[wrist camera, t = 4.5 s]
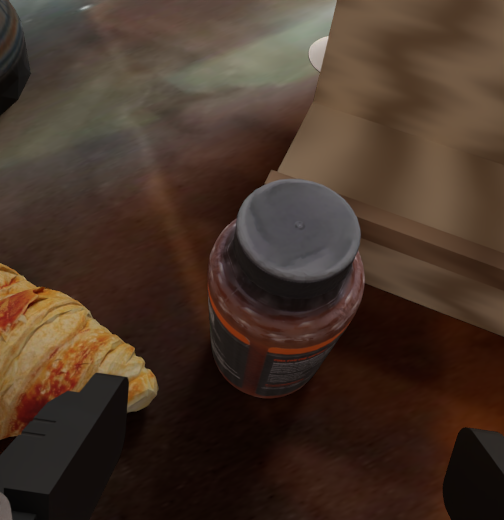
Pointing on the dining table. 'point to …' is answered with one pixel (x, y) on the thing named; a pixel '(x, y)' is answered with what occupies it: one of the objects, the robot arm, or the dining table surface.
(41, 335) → the croissant
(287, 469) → the dining table surface
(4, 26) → the beer stein
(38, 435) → the robot arm
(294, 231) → the supplement bottle
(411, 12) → the board
